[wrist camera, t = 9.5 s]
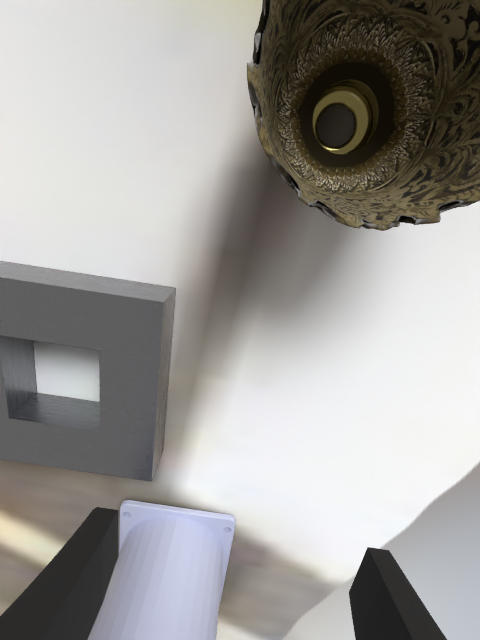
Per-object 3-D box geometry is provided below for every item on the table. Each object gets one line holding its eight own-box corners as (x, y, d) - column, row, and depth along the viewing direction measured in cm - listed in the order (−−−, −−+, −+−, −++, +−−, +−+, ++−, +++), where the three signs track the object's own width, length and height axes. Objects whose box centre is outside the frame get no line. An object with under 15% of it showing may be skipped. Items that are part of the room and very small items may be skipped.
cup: (384, 230, 16) (493, 261, 9) (236, 194, 16) (219, 195, 9) (452, 46, 14) (691, -133, 6) (277, 0, 13) (303, -246, 6)
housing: (162, 450, 22) (151, 481, 19) (-6, 425, 22) (-38, 453, 19) (175, 288, 18) (163, 302, 15) (-31, 256, 18) (-74, 265, 15)
